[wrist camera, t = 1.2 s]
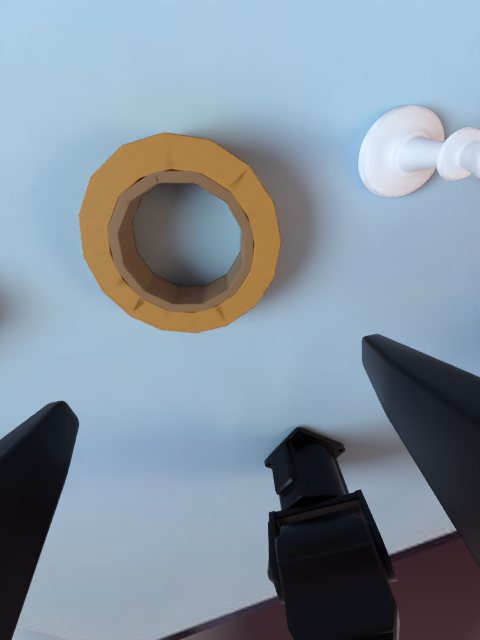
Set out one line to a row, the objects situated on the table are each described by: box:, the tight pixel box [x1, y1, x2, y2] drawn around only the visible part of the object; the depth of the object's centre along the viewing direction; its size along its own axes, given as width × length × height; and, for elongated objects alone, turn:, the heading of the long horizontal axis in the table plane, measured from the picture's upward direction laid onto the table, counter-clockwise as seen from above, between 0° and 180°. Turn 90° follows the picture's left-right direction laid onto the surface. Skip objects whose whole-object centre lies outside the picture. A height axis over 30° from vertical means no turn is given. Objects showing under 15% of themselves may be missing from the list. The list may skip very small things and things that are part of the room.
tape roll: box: [79, 133, 281, 333], centre depth 19 cm, size 12×12×3 cm
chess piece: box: [358, 105, 480, 197], centre depth 14 cm, size 5×5×10 cm
